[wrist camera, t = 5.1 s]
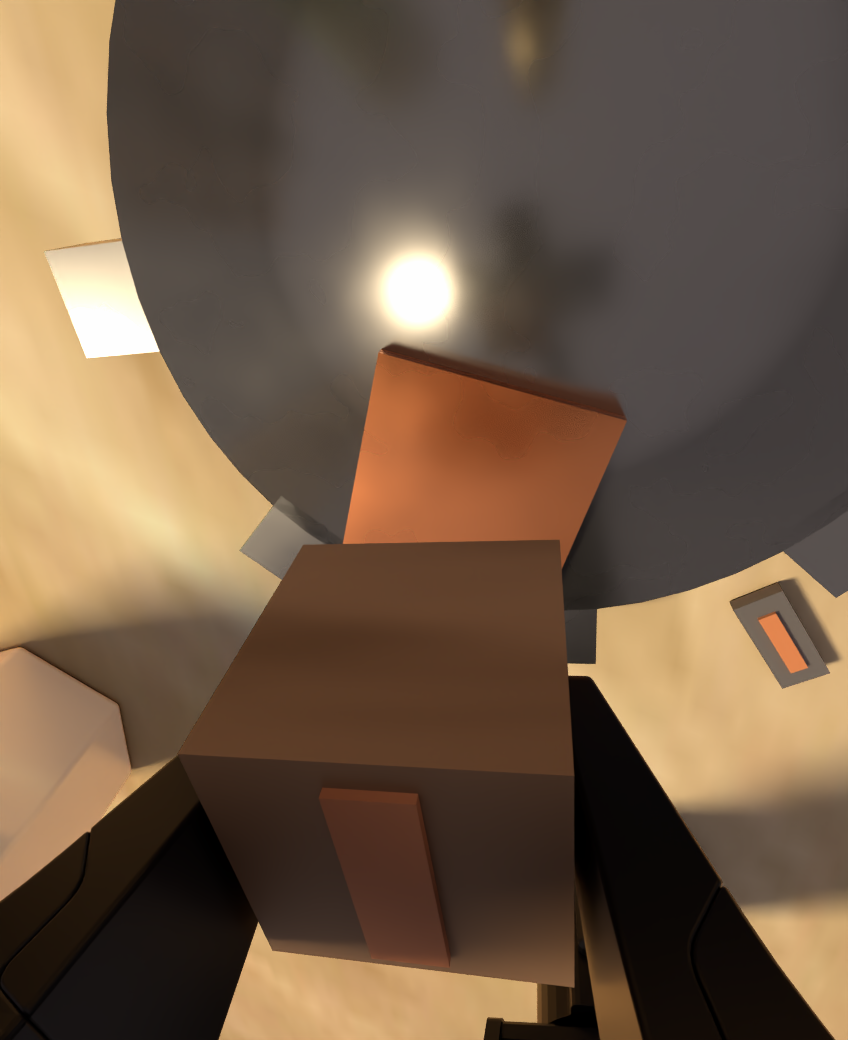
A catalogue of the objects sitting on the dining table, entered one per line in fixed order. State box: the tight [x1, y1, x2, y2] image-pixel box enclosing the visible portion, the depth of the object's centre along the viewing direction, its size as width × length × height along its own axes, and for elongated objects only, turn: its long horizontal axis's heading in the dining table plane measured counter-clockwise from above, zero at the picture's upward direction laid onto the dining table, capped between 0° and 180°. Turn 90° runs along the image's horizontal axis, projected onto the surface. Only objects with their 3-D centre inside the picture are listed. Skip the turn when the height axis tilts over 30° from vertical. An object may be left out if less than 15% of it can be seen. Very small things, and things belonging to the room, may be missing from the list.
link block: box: [178, 540, 574, 988], centre depth 9 cm, size 4×4×4 cm
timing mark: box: [730, 583, 830, 689], centre depth 18 cm, size 4×1×1 cm, turn 37°
